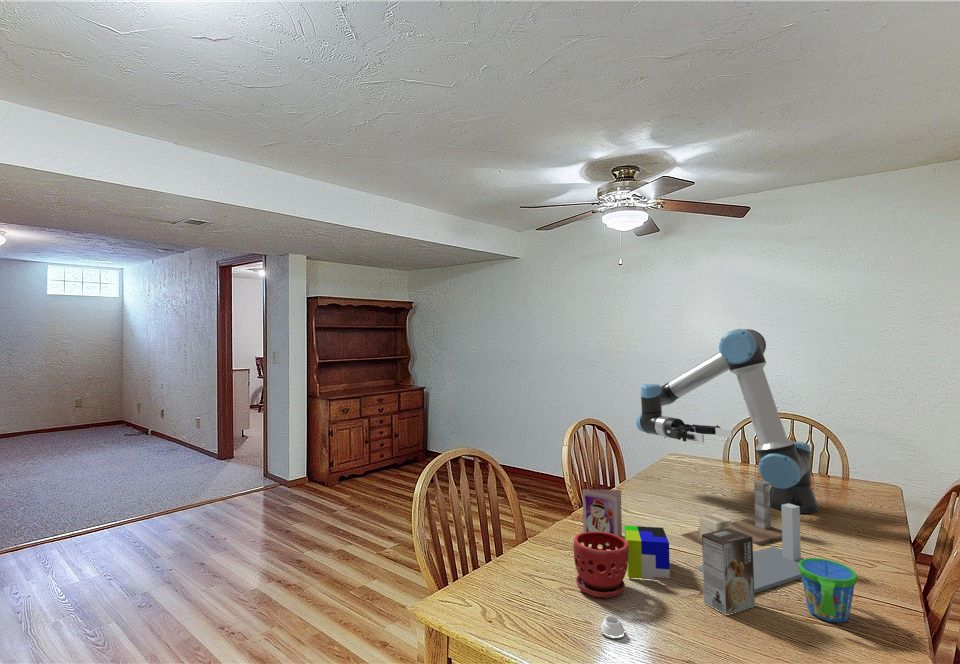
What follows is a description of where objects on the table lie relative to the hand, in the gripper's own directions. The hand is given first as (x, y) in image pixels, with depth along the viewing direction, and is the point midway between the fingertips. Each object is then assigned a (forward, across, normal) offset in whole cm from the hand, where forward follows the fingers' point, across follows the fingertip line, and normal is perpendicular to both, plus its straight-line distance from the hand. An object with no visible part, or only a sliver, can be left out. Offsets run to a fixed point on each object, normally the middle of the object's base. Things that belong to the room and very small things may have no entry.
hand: (718, 436), depth 171 cm
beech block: (+14, +19, -26) cm, 35 cm away
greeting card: (-2, +47, -27) cm, 54 cm away
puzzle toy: (+19, +50, -27) cm, 60 cm away
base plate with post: (+32, +24, -27) cm, 49 cm away
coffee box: (+40, +45, -28) cm, 66 cm away
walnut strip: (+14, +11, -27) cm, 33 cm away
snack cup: (+52, +29, -28) cm, 66 cm away
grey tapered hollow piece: (+37, +76, -28) cm, 89 cm away
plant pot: (+21, +66, -27) cm, 75 cm away
